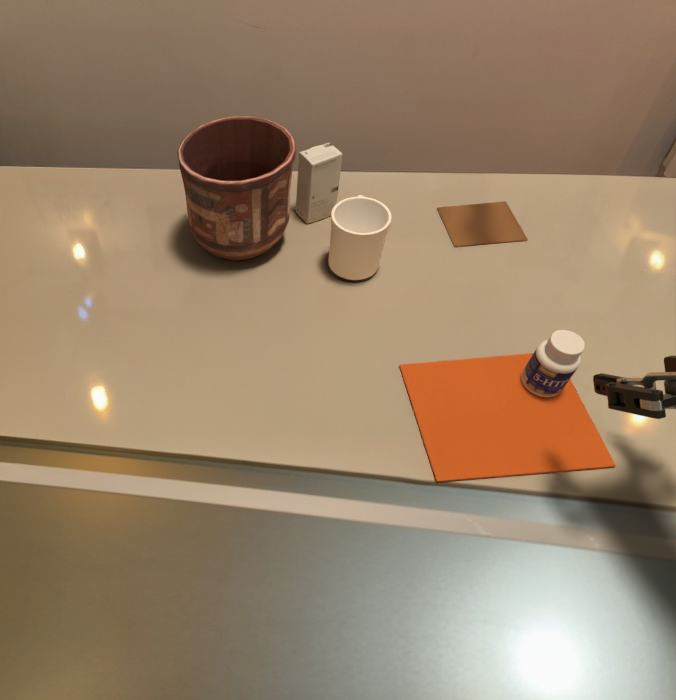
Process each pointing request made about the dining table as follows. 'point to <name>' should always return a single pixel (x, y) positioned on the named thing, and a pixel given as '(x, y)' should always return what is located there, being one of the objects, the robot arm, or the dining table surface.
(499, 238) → the cork pad
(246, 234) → the pottery
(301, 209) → the cosmetic box
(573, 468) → the towel
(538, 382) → the pill bottle
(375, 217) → the mug
